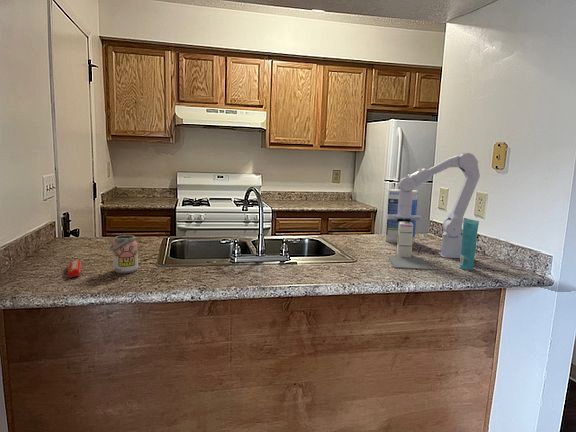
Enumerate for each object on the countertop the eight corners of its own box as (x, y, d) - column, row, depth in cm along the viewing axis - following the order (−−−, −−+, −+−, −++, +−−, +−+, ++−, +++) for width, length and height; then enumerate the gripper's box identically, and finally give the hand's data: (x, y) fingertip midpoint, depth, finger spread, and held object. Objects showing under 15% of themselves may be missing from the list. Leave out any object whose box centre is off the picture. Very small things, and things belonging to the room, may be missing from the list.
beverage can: (110, 275, 136) (109, 240, 134) (109, 268, 143) (107, 235, 141) (140, 272, 140) (138, 238, 138) (136, 266, 147) (135, 233, 145)
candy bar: (69, 267, 145) (69, 259, 144) (81, 266, 146) (80, 258, 146) (67, 280, 130) (66, 271, 130) (80, 279, 132) (79, 270, 132)
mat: (422, 259, 168) (422, 257, 168) (432, 270, 152) (432, 268, 152) (388, 257, 169) (388, 256, 169) (394, 268, 153) (394, 266, 153)
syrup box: (411, 258, 169) (414, 223, 167) (397, 257, 170) (399, 223, 168) (410, 254, 175) (412, 221, 172) (396, 253, 176) (398, 220, 173)
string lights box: (414, 242, 200) (418, 190, 196) (412, 245, 193) (416, 191, 189) (387, 239, 206) (391, 188, 202) (384, 241, 199) (388, 189, 195)
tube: (478, 270, 153) (483, 220, 150) (469, 271, 151) (474, 221, 148) (462, 265, 160) (467, 217, 157) (453, 266, 158) (458, 218, 155)
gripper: (420, 204, 178) (417, 235, 180) (386, 203, 179) (384, 233, 181) (423, 206, 171) (421, 238, 173) (388, 205, 172) (386, 236, 175)
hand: (402, 236), depth 177 cm, fingers closed
